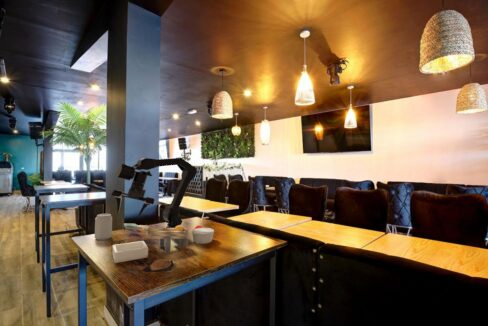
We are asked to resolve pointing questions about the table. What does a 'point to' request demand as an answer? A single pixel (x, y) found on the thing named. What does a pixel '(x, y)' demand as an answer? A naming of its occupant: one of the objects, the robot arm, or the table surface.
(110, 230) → the can
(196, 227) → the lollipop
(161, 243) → the pivot stand
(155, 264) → the bread roll
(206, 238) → the ramekin
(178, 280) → the table surface
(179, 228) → the ball
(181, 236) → the chute
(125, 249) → the bin
